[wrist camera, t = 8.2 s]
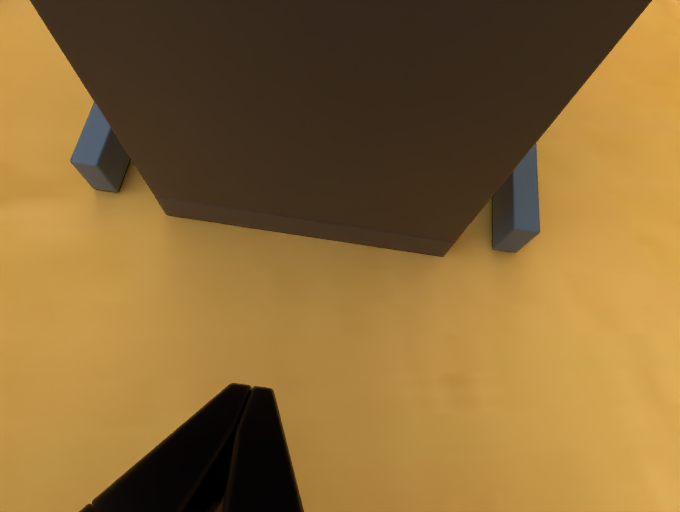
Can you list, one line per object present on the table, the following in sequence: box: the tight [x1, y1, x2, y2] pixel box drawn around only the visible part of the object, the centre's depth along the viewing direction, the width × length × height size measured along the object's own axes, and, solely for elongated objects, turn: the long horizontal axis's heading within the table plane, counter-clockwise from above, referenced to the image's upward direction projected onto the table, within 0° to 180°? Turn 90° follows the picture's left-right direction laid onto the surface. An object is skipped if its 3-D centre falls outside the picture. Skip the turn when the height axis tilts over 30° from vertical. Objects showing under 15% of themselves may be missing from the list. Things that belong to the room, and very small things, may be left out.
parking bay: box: [70, 102, 540, 252], centre depth 20 cm, size 16×17×2 cm
